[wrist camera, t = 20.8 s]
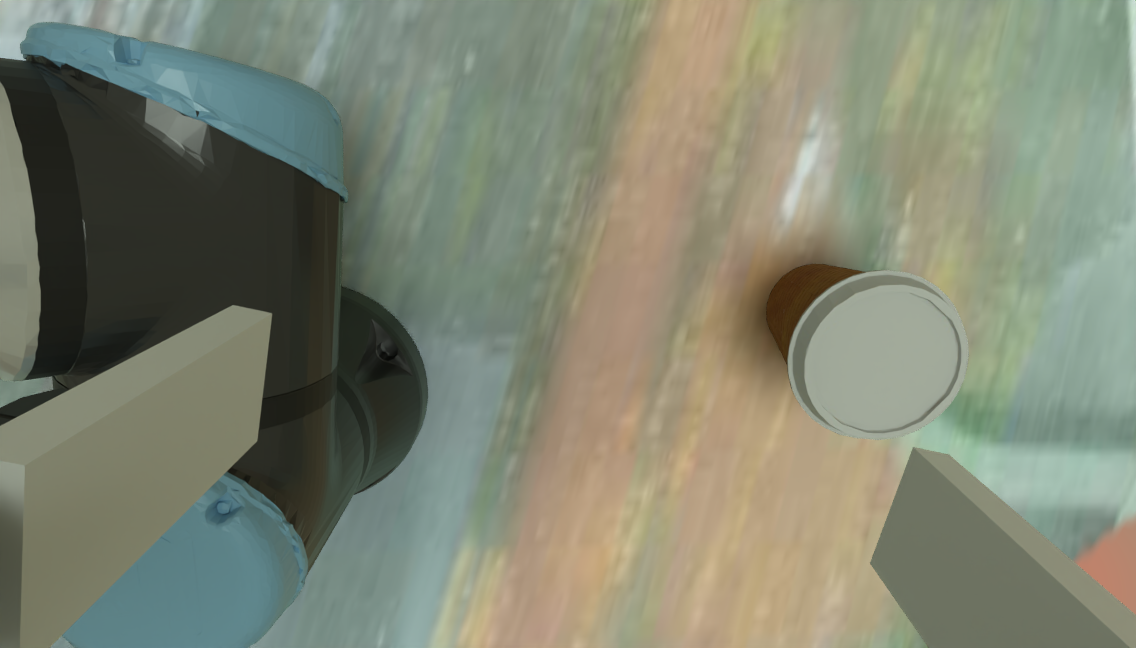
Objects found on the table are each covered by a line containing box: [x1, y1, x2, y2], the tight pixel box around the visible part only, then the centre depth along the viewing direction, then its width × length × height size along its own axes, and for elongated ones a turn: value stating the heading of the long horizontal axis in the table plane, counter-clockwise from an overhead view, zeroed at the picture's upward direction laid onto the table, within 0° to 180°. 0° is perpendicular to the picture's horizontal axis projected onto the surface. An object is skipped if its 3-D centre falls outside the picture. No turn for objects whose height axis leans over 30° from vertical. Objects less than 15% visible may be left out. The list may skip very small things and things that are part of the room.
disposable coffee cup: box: [766, 264, 969, 440], centre depth 44 cm, size 10×10×12 cm
